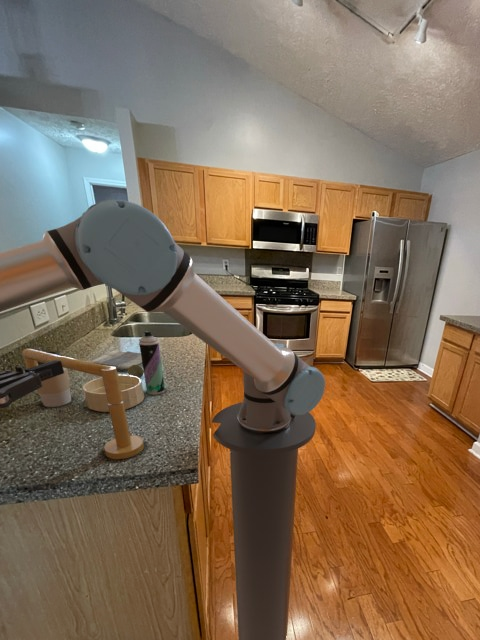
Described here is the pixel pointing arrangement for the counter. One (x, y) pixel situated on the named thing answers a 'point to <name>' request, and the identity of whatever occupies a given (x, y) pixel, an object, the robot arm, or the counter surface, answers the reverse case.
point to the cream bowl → (128, 387)
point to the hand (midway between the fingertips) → (59, 366)
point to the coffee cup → (55, 388)
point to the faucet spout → (105, 372)
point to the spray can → (151, 364)
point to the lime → (136, 371)
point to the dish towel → (120, 360)
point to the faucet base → (122, 435)
